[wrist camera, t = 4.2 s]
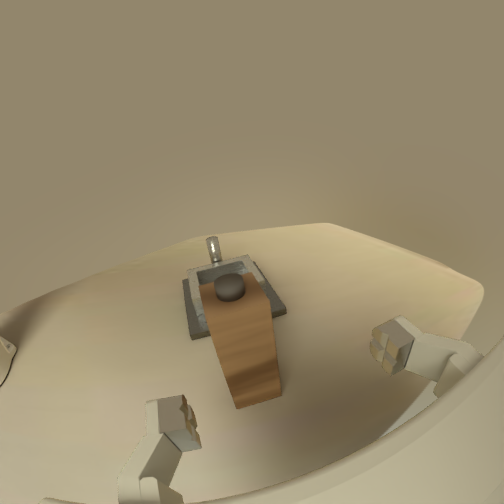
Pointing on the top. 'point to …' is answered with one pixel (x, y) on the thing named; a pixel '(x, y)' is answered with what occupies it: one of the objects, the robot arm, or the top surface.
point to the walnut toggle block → (242, 337)
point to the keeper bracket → (209, 275)
